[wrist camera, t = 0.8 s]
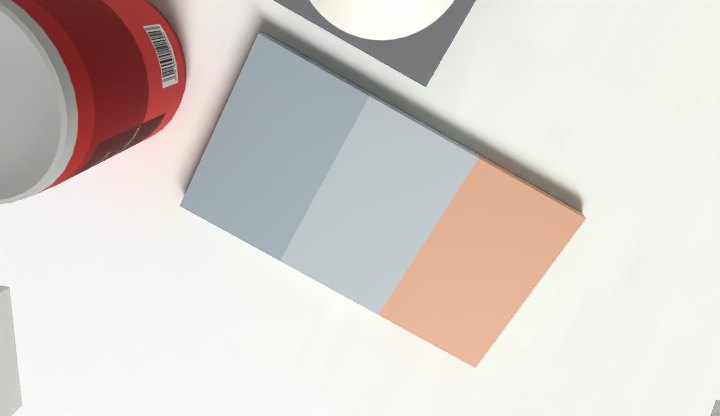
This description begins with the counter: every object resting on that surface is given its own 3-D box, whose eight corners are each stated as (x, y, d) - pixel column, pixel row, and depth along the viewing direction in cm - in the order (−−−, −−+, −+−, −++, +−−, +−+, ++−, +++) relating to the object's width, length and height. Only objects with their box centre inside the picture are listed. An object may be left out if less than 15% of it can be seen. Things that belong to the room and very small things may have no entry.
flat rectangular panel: (185, 201, 34) (179, 205, 33) (263, 32, 30) (258, 33, 30) (474, 359, 35) (475, 367, 34) (582, 213, 31) (585, 218, 30)
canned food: (85, -54, 30) (-103, -75, 20) (221, 50, 31) (108, 81, 21) (20, 74, 33) (-177, 114, 22) (146, 167, 34) (13, 246, 23)
